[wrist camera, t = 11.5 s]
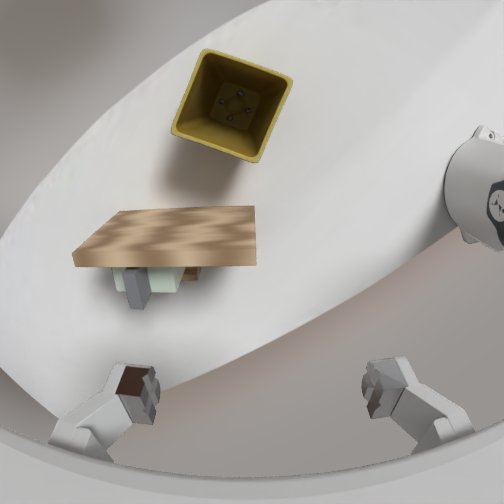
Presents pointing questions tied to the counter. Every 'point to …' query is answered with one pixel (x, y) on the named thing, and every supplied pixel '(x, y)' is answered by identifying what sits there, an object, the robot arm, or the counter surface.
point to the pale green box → (146, 282)
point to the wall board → (173, 239)
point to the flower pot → (231, 105)
